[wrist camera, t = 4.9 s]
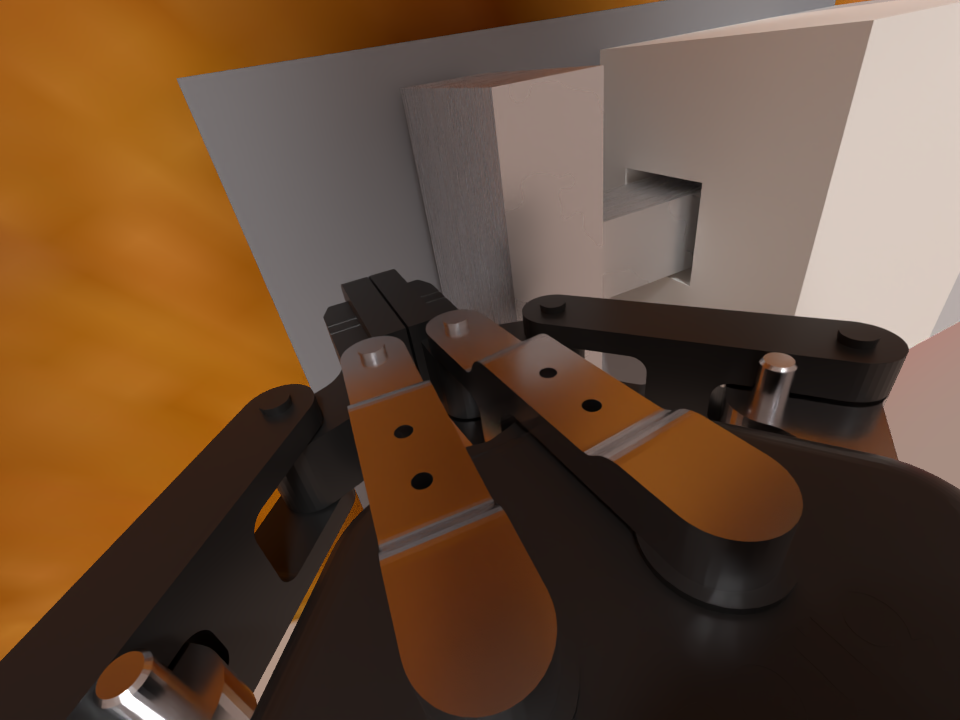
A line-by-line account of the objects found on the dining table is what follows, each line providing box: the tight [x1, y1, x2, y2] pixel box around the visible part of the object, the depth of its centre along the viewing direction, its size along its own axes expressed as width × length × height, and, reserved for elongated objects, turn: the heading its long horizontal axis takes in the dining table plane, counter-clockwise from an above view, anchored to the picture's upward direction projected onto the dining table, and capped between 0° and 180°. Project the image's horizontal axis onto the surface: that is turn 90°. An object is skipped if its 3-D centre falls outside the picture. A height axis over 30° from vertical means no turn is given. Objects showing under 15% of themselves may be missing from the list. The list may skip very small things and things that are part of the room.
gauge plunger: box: [400, 65, 702, 370], centre depth 16 cm, size 16×11×6 cm
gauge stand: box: [177, 0, 960, 509], centre depth 16 cm, size 17×23×10 cm
